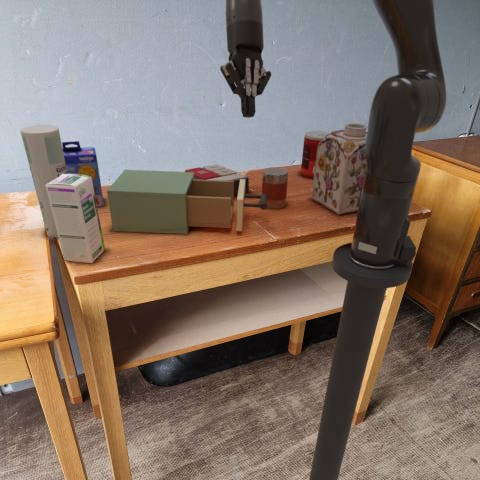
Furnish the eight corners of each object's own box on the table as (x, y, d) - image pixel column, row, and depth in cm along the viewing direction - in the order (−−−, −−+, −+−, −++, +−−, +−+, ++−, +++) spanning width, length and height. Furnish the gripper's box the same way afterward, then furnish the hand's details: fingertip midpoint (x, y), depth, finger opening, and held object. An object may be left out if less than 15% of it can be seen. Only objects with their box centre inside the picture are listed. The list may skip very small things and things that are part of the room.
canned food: (333, 175, 126) (339, 134, 120) (317, 181, 121) (322, 139, 115) (311, 168, 130) (316, 129, 124) (295, 174, 126) (299, 133, 119)
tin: (285, 200, 109) (288, 167, 104) (286, 209, 104) (289, 175, 100) (261, 199, 109) (263, 166, 105) (261, 208, 104) (262, 174, 100)
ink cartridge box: (60, 210, 100) (45, 144, 92) (60, 202, 105) (45, 137, 96) (104, 206, 103) (94, 141, 95) (103, 198, 107) (93, 135, 99)
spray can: (73, 238, 89) (50, 133, 77) (41, 237, 89) (13, 132, 77) (83, 225, 94) (63, 125, 83) (52, 224, 94) (28, 124, 83)
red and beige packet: (217, 162, 121) (249, 174, 110) (217, 178, 123) (249, 192, 113) (181, 168, 116) (212, 182, 105) (183, 185, 118) (213, 200, 108)
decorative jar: (347, 192, 115) (360, 117, 104) (377, 208, 106) (394, 128, 96) (309, 199, 110) (318, 121, 100) (337, 215, 102) (350, 133, 91)
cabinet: (195, 209, 103) (194, 172, 98) (187, 234, 92) (185, 193, 87) (129, 206, 103) (124, 169, 98) (113, 231, 92) (106, 190, 87)
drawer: (265, 209, 102) (267, 180, 98) (265, 232, 92) (267, 200, 88) (181, 206, 102) (180, 176, 98) (172, 228, 92) (170, 196, 88)
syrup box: (92, 264, 81) (77, 185, 72) (62, 260, 81) (44, 182, 73) (105, 250, 85) (92, 174, 77) (77, 247, 86) (61, 172, 78)
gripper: (231, 11, 84) (236, 110, 88) (280, 26, 92) (282, 116, 96) (207, 24, 89) (213, 117, 94) (255, 37, 97) (258, 122, 102)
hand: (248, 116), depth 95 cm, fingers closed
